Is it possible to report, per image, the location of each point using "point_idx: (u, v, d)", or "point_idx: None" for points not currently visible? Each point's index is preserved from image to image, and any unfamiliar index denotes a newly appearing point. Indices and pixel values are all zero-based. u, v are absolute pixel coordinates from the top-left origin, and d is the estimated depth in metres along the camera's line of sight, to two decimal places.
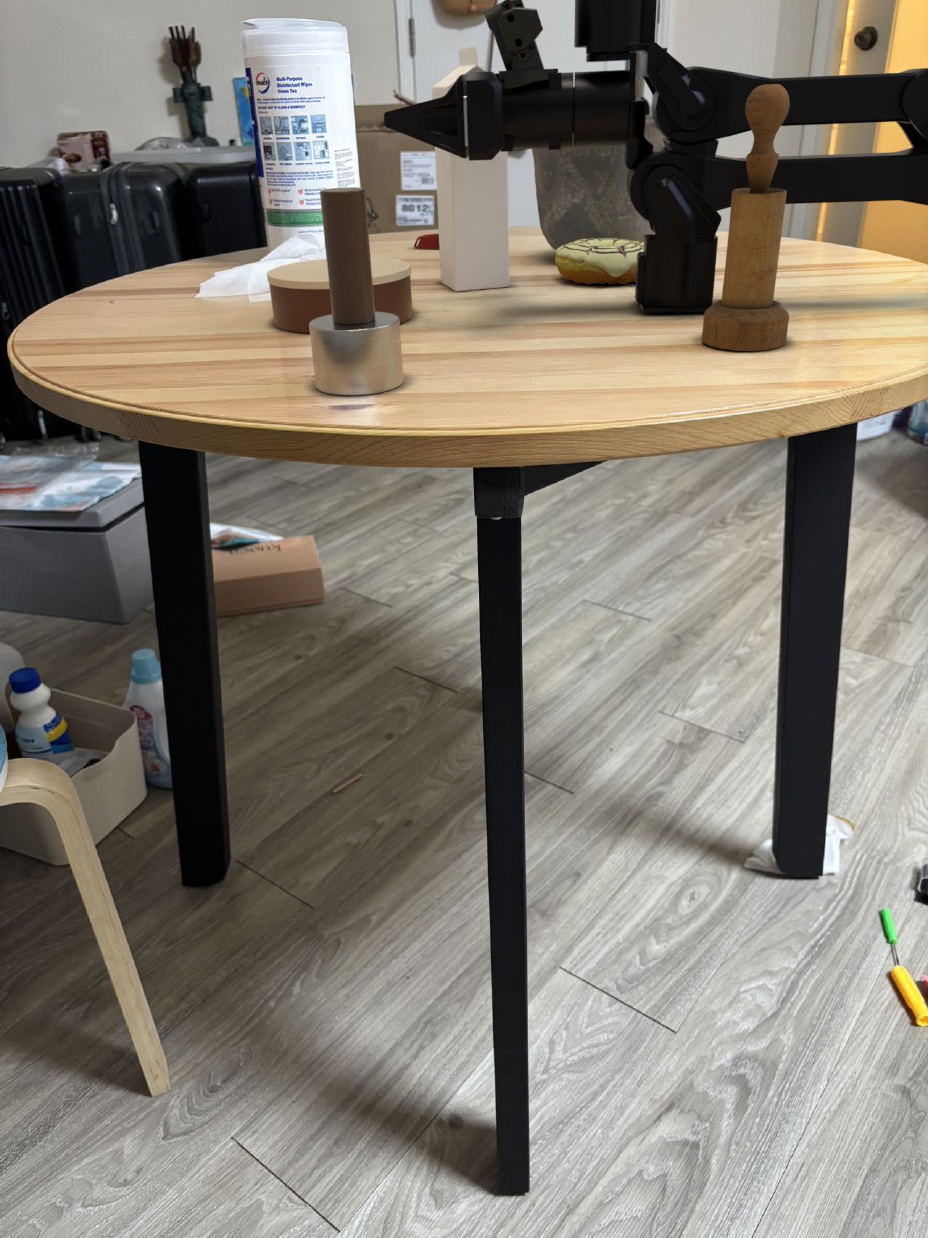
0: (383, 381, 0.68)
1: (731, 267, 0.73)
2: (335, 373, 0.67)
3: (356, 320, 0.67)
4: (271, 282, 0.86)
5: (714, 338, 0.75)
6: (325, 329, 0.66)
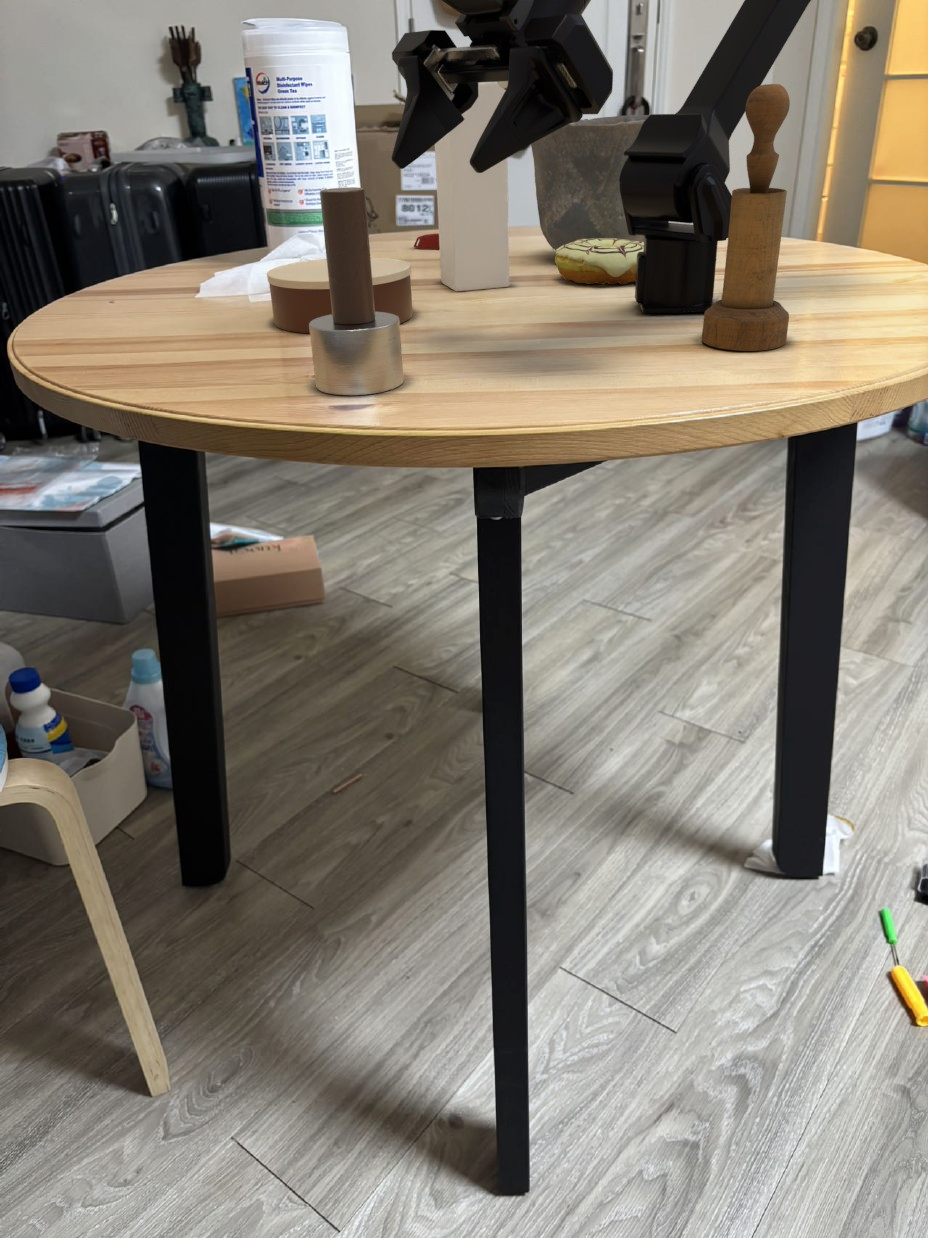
0: (383, 381, 0.68)
1: (731, 267, 0.73)
2: (335, 373, 0.67)
3: (356, 320, 0.67)
4: (271, 282, 0.86)
5: (714, 338, 0.75)
6: (325, 329, 0.66)
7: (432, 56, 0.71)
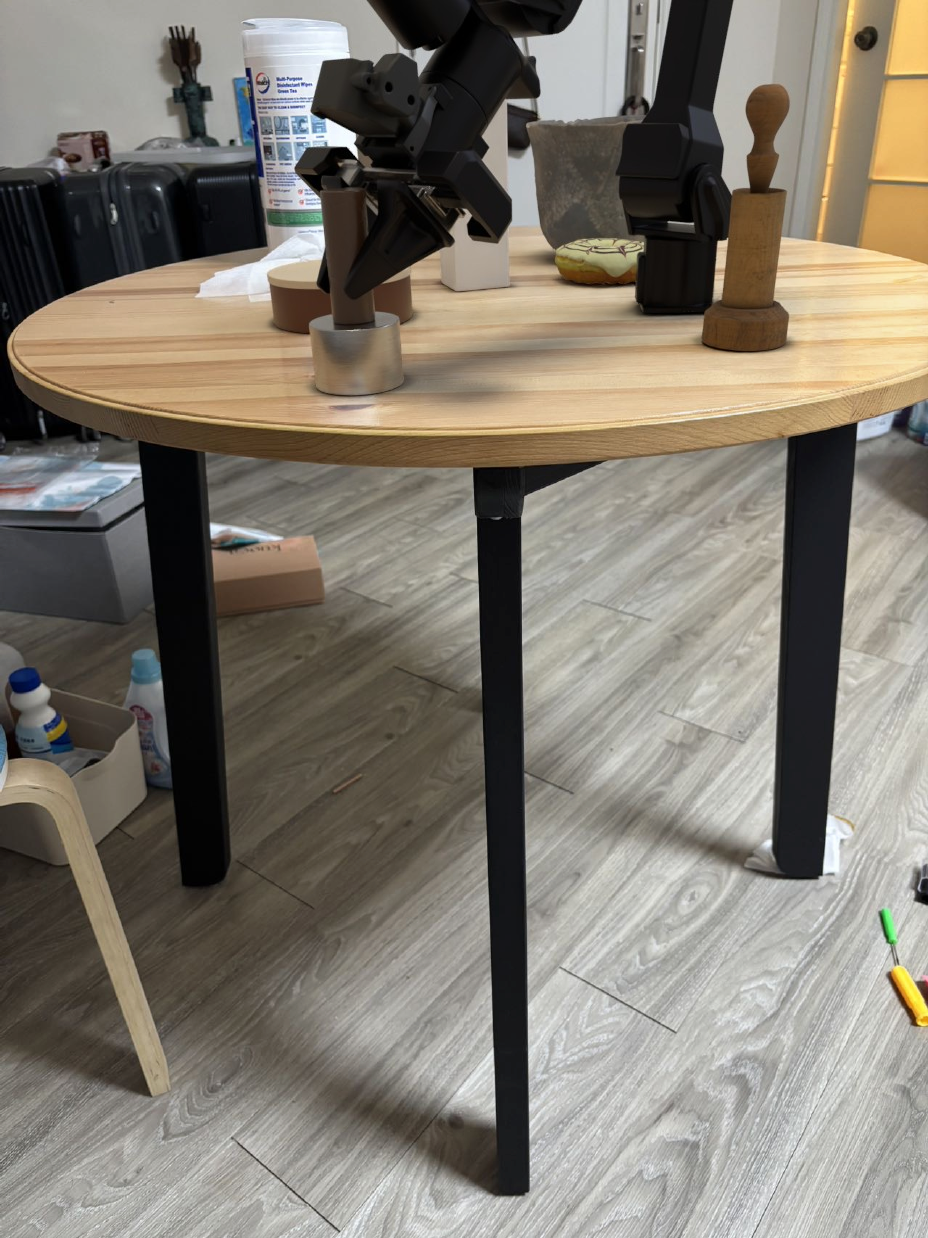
0: (383, 381, 0.68)
1: (731, 267, 0.73)
2: (335, 373, 0.67)
3: (356, 320, 0.67)
4: (271, 282, 0.86)
5: (714, 338, 0.75)
6: (325, 329, 0.66)
7: (357, 175, 0.67)
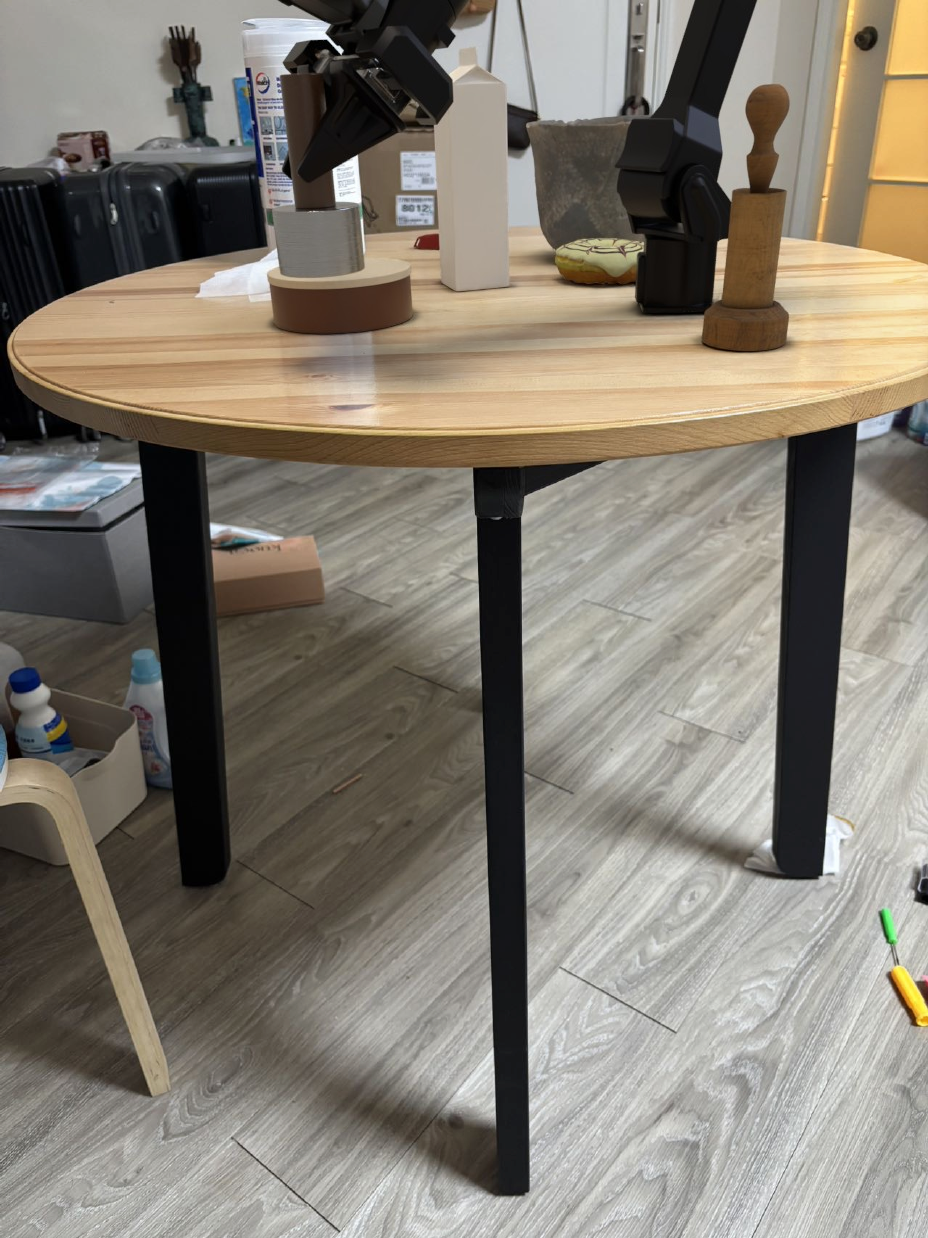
0: (335, 265, 0.70)
1: (731, 267, 0.73)
2: (290, 255, 0.70)
3: (312, 204, 0.69)
4: (271, 282, 0.86)
5: (714, 338, 0.75)
6: (281, 211, 0.69)
7: (328, 64, 0.70)
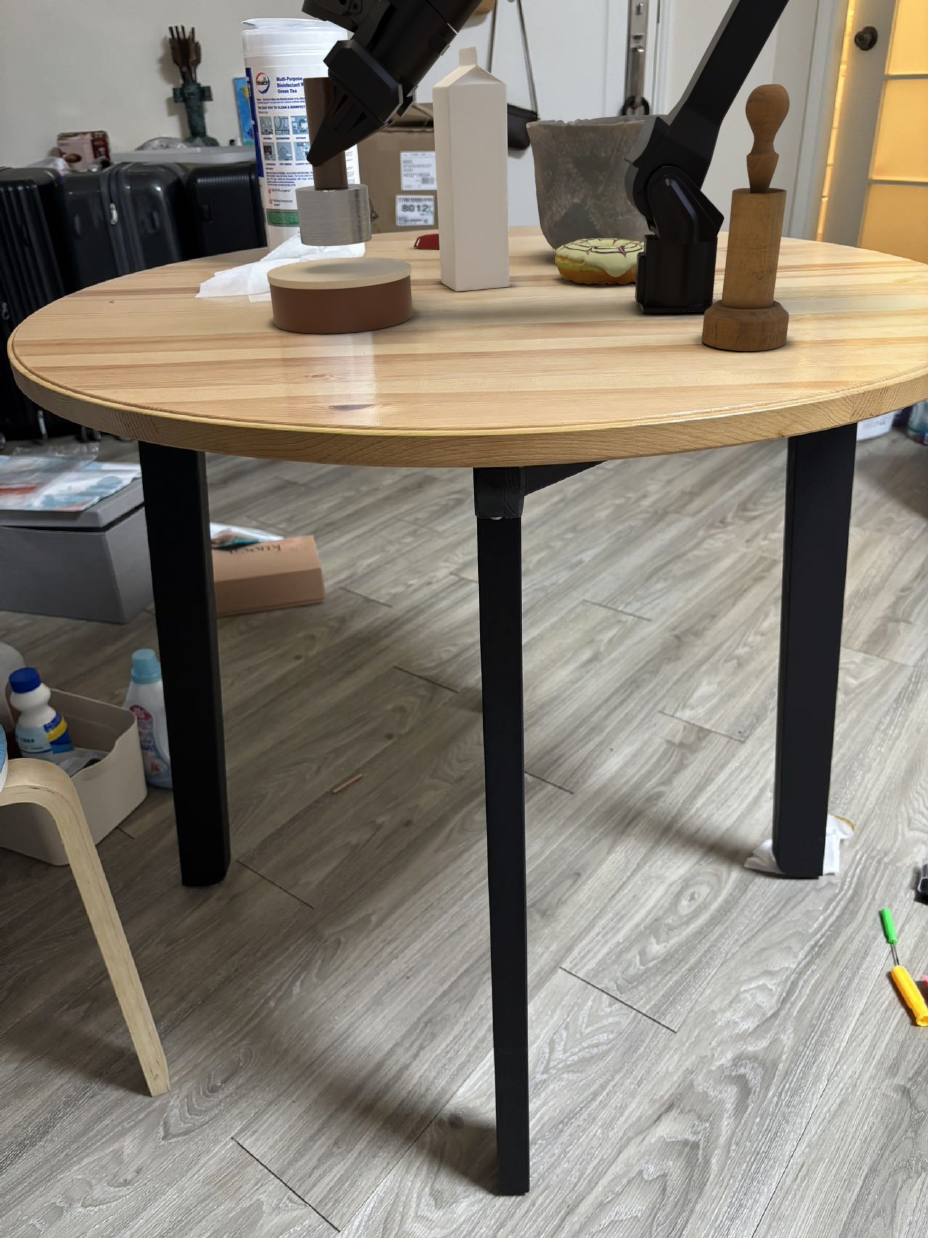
0: (329, 236, 0.85)
1: (731, 267, 0.73)
2: (300, 226, 0.86)
3: (321, 185, 0.84)
4: (271, 282, 0.86)
5: (714, 338, 0.75)
6: (296, 189, 0.85)
7: None
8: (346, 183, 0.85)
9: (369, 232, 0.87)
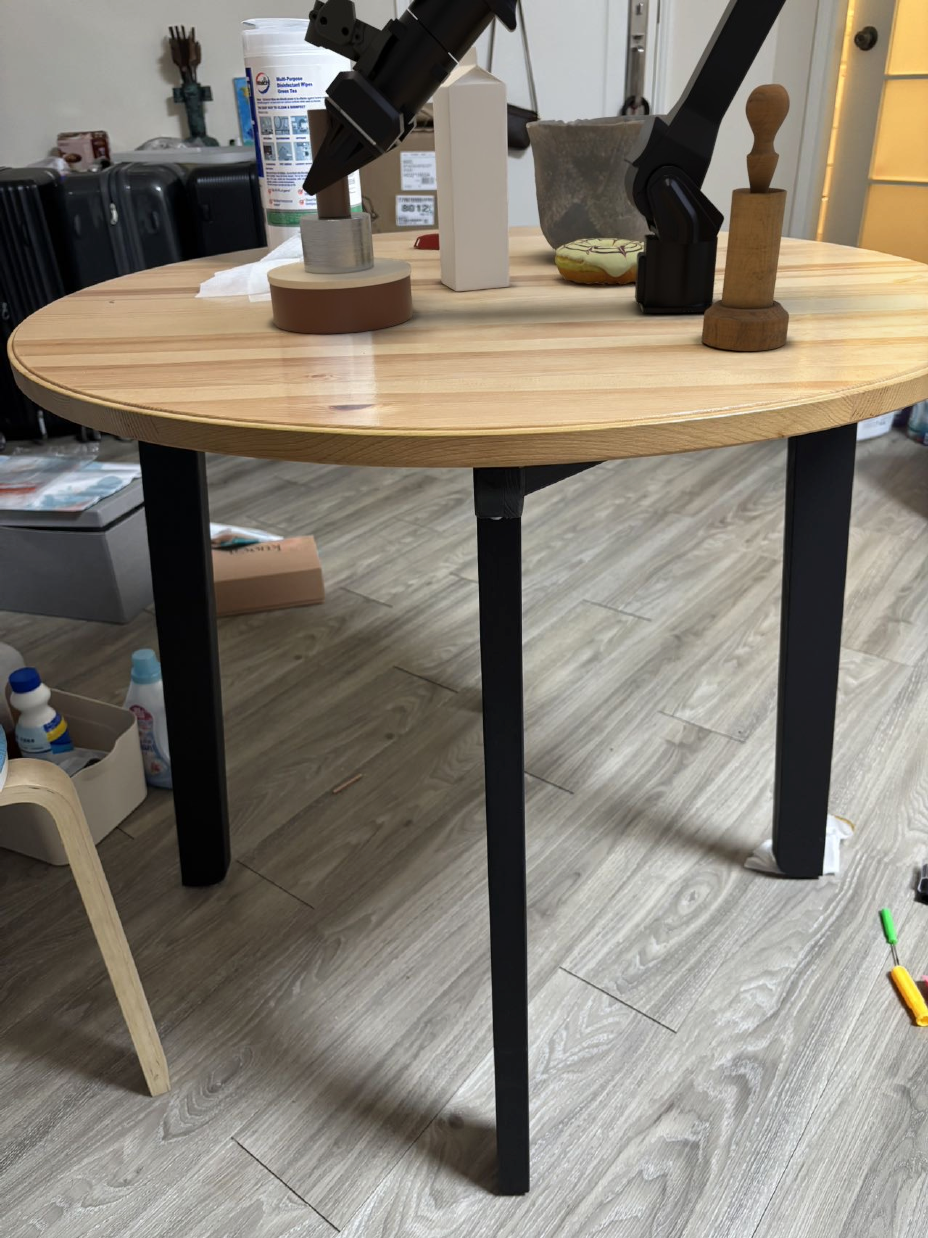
0: (332, 265, 0.86)
1: (731, 267, 0.73)
2: (304, 254, 0.87)
3: (324, 214, 0.85)
4: (271, 282, 0.86)
5: (714, 338, 0.75)
6: (300, 218, 0.86)
7: None
8: (349, 212, 0.86)
9: (372, 260, 0.88)
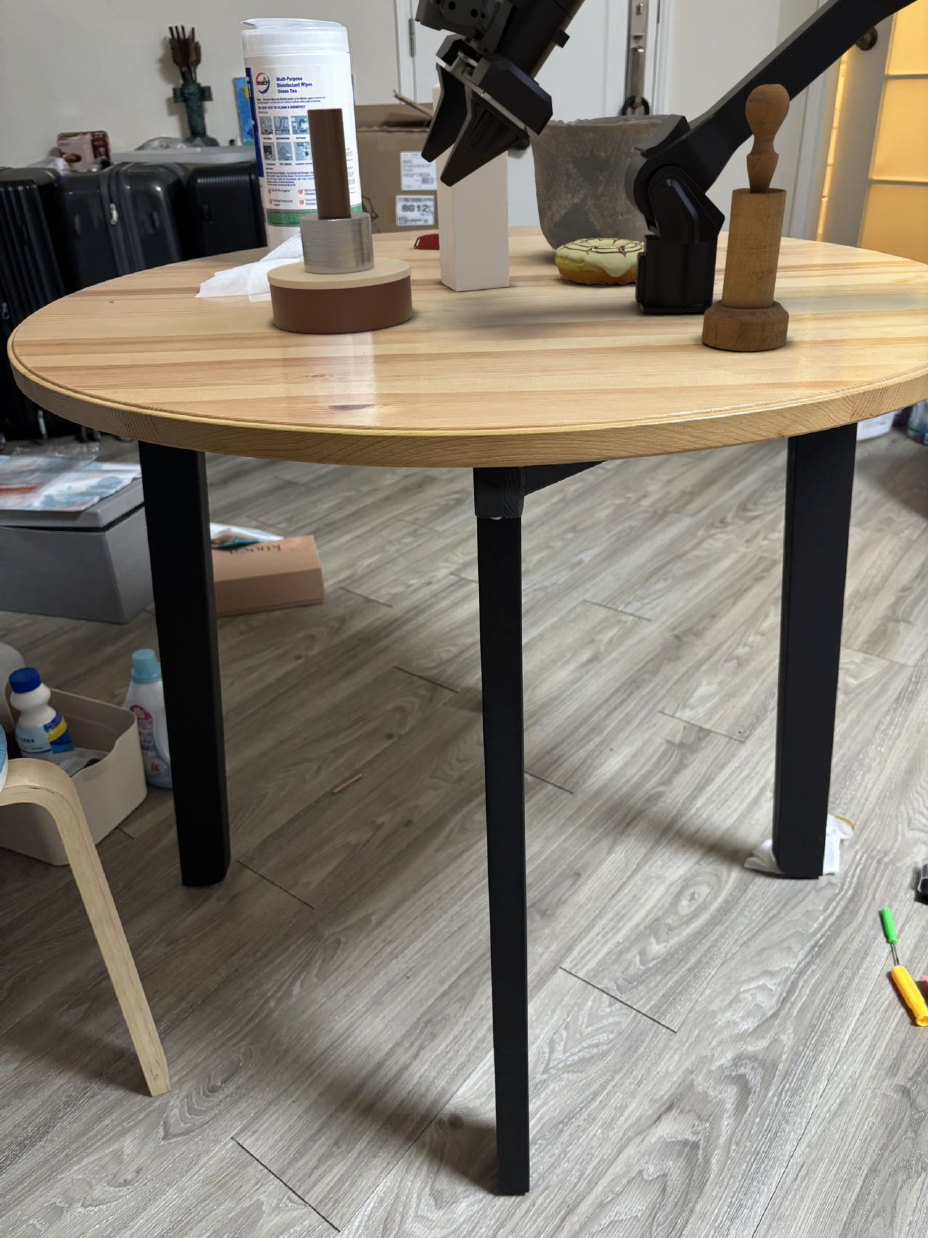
0: (332, 265, 0.86)
1: (731, 267, 0.73)
2: (304, 254, 0.87)
3: (324, 214, 0.85)
4: (271, 282, 0.86)
5: (714, 338, 0.75)
6: (300, 218, 0.86)
7: (458, 61, 0.84)
8: (349, 212, 0.86)
9: (372, 260, 0.88)
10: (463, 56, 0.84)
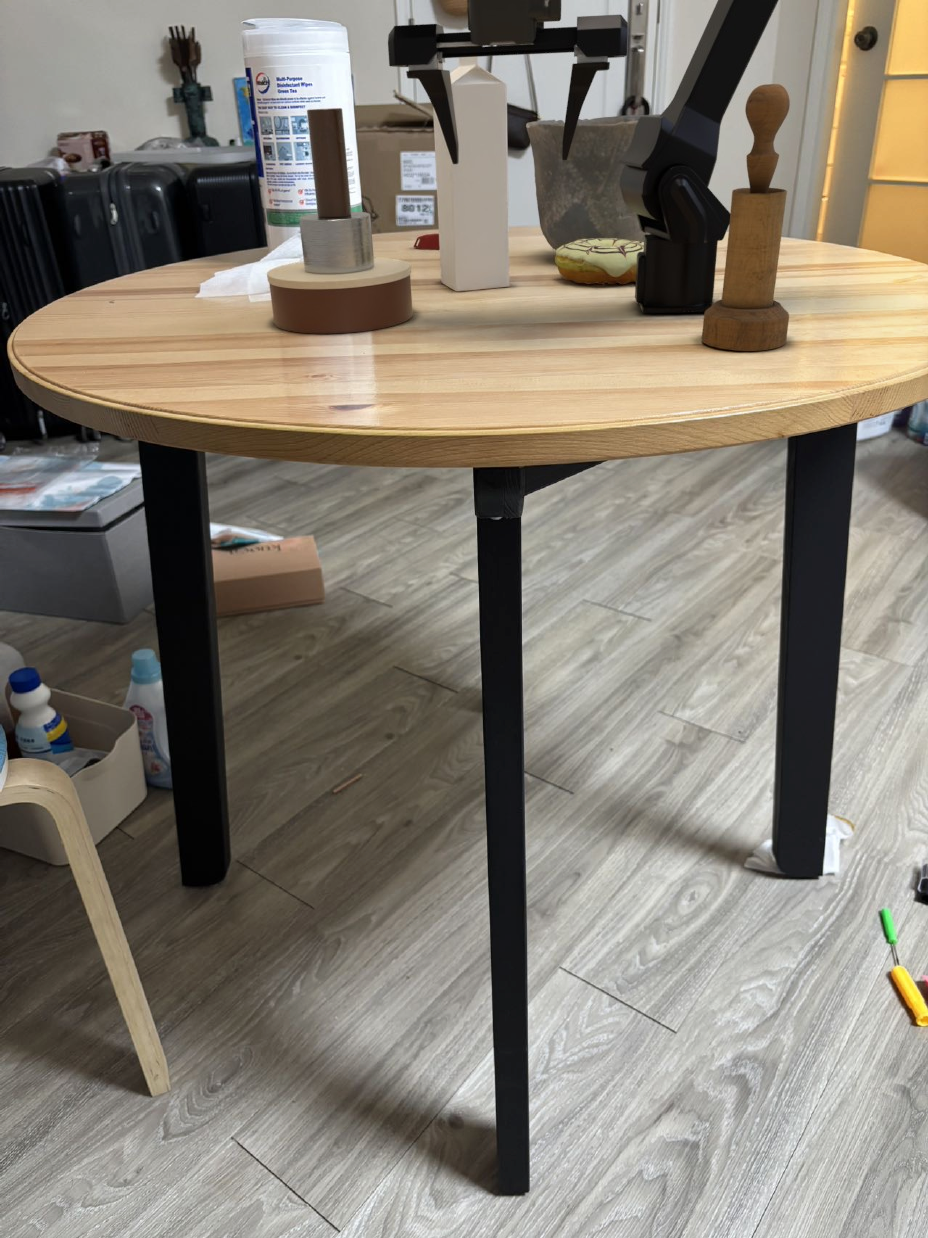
0: (332, 265, 0.86)
1: (731, 267, 0.73)
2: (304, 254, 0.87)
3: (324, 214, 0.85)
4: (271, 282, 0.86)
5: (714, 338, 0.75)
6: (300, 218, 0.86)
7: (437, 53, 0.77)
8: (349, 212, 0.86)
9: (372, 260, 0.88)
10: (442, 45, 0.76)
